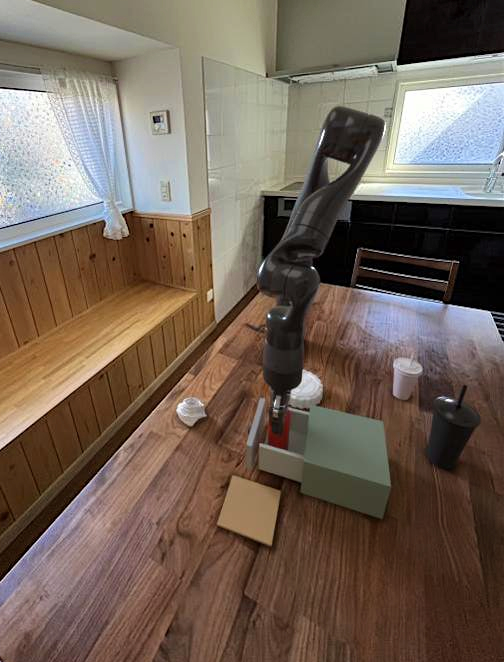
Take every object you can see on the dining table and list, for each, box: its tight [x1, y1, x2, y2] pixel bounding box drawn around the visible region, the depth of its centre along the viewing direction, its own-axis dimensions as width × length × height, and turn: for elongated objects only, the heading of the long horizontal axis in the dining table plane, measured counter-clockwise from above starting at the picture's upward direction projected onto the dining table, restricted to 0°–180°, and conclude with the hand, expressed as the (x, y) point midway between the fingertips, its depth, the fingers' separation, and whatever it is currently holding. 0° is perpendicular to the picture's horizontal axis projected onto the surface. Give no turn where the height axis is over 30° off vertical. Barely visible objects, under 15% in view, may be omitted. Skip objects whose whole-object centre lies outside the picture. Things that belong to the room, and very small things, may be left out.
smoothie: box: [392, 350, 424, 401], centre depth 85 cm, size 6×6×14 cm
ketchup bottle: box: [267, 404, 291, 451], centre depth 71 cm, size 4×4×12 cm
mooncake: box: [288, 369, 324, 410], centre depth 90 cm, size 12×12×4 cm
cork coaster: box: [216, 474, 282, 548], centre depth 64 cm, size 10×10×1 cm
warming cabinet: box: [300, 405, 392, 520], centre depth 68 cm, size 15×15×9 cm
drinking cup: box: [426, 384, 482, 470], centre depth 67 cm, size 8×8×20 cm
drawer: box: [245, 397, 310, 483], centre depth 72 cm, size 15×13×7 cm
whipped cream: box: [176, 397, 208, 427], centre depth 85 cm, size 8×7×5 cm
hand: (279, 423), depth 71 cm, fingers closed on ketchup bottle, 4 cm apart
